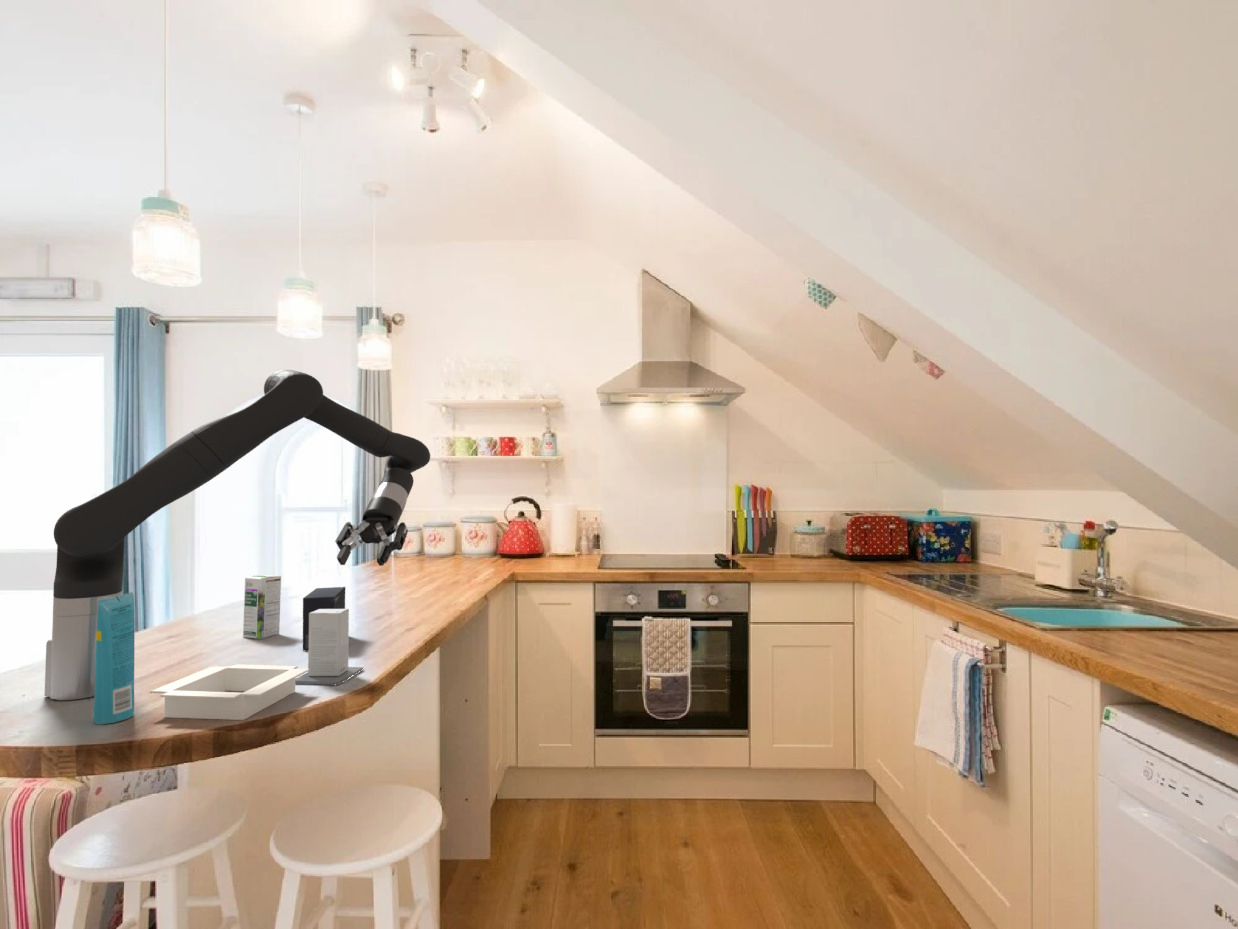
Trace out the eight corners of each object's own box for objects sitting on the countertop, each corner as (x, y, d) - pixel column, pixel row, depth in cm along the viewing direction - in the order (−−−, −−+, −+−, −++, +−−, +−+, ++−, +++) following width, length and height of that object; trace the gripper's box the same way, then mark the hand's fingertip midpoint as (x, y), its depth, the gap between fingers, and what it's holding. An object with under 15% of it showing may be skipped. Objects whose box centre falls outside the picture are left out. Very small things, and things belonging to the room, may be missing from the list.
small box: (315, 637, 146) (316, 587, 147) (345, 635, 148) (346, 586, 149) (301, 651, 134) (302, 597, 134) (334, 649, 136) (335, 595, 136)
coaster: (292, 683, 112) (292, 680, 112) (319, 669, 121) (319, 666, 121) (338, 685, 111) (338, 682, 111) (363, 670, 120) (363, 667, 120)
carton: (141, 720, 94) (142, 694, 94) (218, 686, 110) (218, 664, 111) (251, 724, 93) (252, 698, 93) (313, 689, 109) (313, 666, 109)
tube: (110, 711, 98) (114, 592, 99) (144, 709, 99) (148, 591, 100) (79, 729, 91) (84, 600, 91) (116, 727, 92) (120, 599, 92)
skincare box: (348, 670, 118) (350, 608, 119) (339, 677, 114) (340, 612, 114) (317, 670, 118) (318, 608, 119) (306, 677, 114) (308, 612, 114)
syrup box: (241, 637, 146) (243, 577, 146) (263, 632, 151) (264, 573, 152) (259, 639, 144) (261, 578, 144) (280, 634, 149) (282, 574, 150)
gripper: (350, 495, 137) (320, 551, 125) (411, 495, 136) (387, 552, 124) (362, 517, 142) (334, 573, 130) (420, 517, 141) (398, 574, 129)
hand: (360, 563), depth 127 cm, fingers open, 8 cm apart
